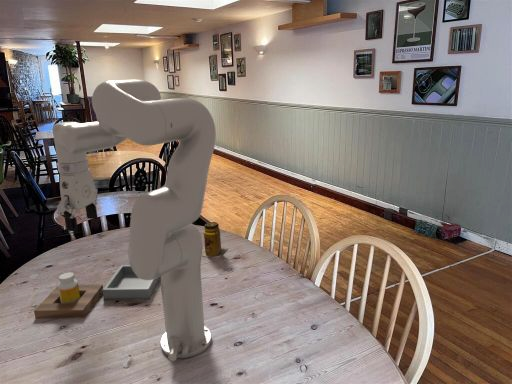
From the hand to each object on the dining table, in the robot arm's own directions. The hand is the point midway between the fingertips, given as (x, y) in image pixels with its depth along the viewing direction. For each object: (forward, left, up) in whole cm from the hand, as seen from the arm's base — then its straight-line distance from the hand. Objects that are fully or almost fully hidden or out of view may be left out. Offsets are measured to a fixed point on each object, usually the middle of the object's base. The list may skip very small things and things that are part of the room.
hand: (82, 224), depth 114 cm
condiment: (+30, -34, -24) cm, 51 cm away
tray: (+6, -11, -24) cm, 27 cm away
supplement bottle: (-4, +5, -24) cm, 25 cm away
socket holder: (-4, +5, -24) cm, 25 cm away
